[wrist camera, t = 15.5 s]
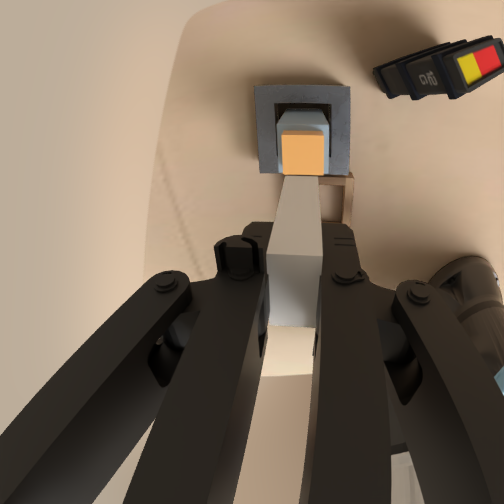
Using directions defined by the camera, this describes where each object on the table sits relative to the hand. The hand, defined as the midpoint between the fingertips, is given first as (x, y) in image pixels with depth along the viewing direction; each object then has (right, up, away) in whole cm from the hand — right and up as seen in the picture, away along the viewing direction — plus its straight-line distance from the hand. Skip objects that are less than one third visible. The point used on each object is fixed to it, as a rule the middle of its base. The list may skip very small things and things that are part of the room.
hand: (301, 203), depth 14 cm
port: (+4, +13, +19) cm, 23 cm away
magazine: (+18, +20, +12) cm, 29 cm away
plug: (+4, +13, +19) cm, 23 cm away
